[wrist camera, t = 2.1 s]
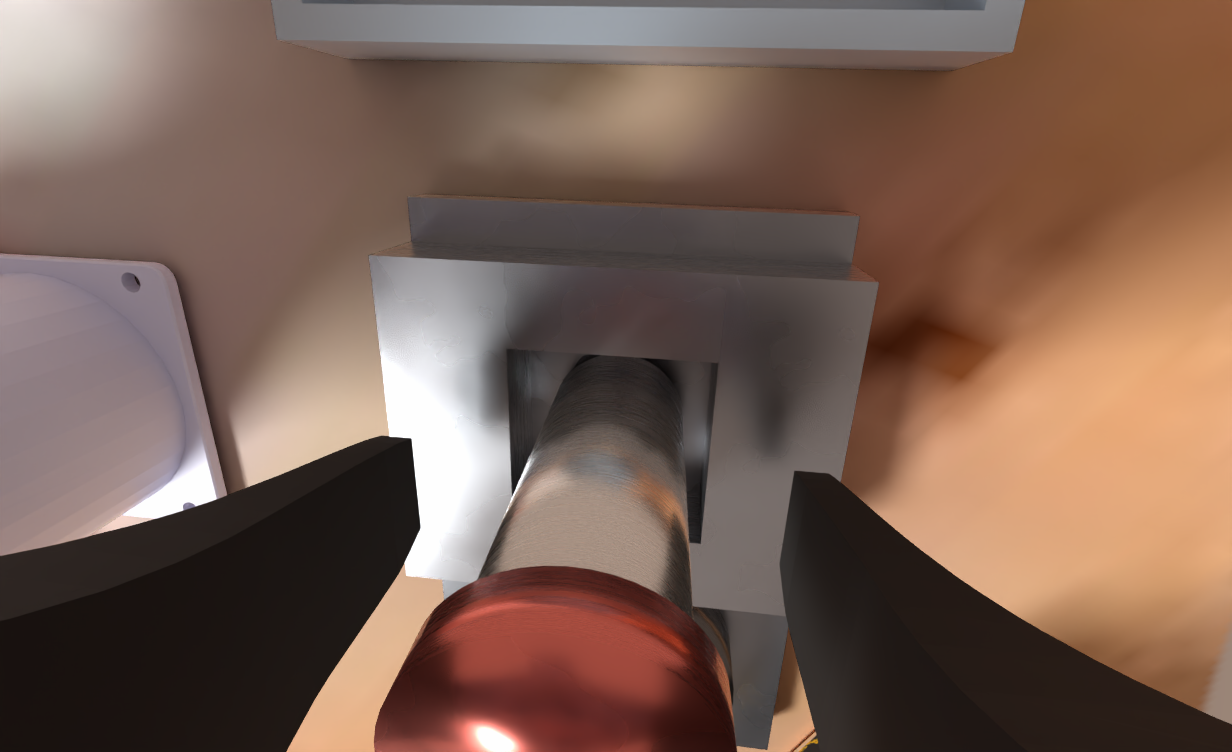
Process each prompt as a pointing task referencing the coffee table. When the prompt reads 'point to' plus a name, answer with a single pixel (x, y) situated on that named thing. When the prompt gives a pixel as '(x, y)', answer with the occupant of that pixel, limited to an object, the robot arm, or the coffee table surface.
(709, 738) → the pin
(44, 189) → the coffee table surface
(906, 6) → the tray
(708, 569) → the block
